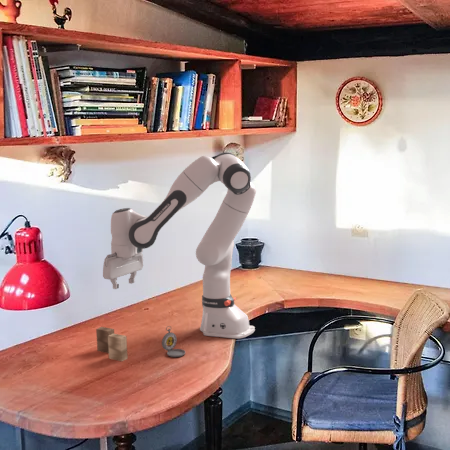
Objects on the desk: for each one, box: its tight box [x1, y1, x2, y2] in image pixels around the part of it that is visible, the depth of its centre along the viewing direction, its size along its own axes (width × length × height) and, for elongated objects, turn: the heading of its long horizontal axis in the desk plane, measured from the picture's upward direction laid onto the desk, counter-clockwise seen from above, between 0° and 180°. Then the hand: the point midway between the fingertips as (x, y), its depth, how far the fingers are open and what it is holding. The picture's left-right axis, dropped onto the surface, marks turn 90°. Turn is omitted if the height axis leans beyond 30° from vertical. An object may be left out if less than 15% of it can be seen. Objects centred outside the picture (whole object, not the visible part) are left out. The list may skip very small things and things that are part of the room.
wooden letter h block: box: [95, 326, 115, 354], centre depth 230 cm, size 6×3×8 cm, turn 60°
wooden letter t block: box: [108, 333, 128, 362], centre depth 222 cm, size 6×3×8 cm, turn 60°
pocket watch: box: [161, 325, 186, 358], centre depth 225 cm, size 8×8×10 cm
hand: (123, 285), depth 238 cm, fingers open, 8 cm apart
